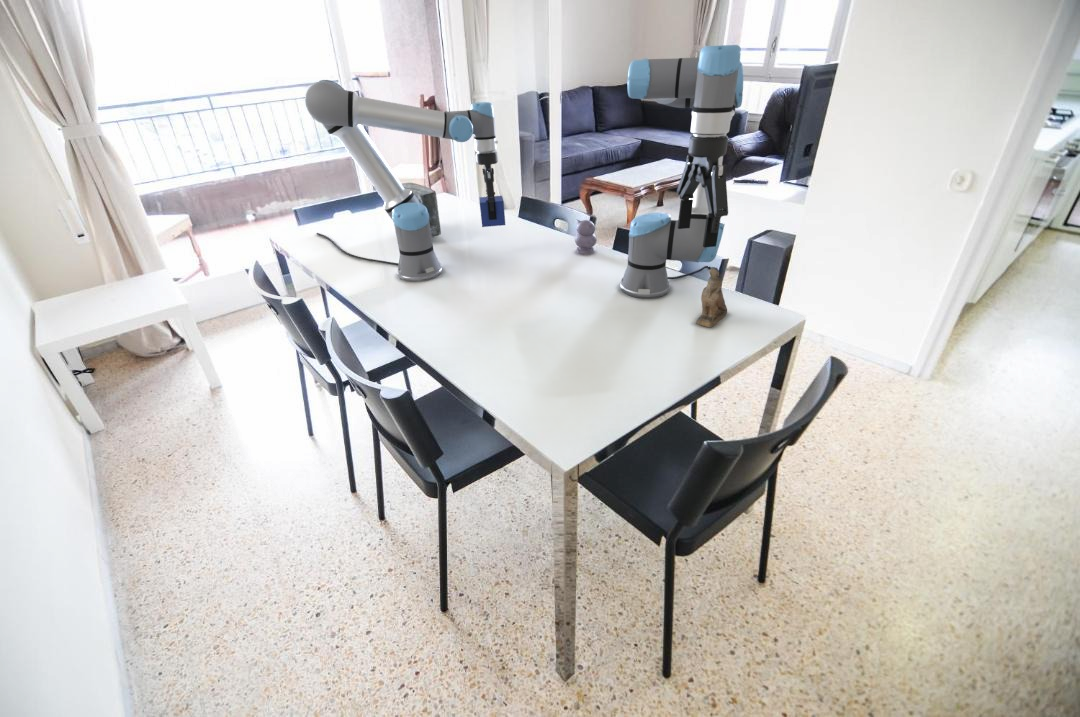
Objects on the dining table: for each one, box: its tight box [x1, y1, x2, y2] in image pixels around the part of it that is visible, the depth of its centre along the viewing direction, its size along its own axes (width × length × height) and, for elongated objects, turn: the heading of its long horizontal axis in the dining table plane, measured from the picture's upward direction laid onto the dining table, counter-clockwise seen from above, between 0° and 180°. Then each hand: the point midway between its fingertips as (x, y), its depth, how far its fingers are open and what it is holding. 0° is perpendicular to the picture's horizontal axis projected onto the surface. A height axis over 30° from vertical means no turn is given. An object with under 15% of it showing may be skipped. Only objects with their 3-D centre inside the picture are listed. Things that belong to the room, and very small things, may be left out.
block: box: [478, 195, 506, 228], centre depth 186 cm, size 9×8×9 cm
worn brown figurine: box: [695, 266, 728, 328], centre depth 135 cm, size 12×6×18 cm, turn 136°
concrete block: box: [401, 182, 442, 239], centre depth 208 cm, size 27×9×20 cm, turn 36°
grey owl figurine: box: [574, 219, 598, 256], centre depth 186 cm, size 8×8×12 cm
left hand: (492, 216), depth 187 cm, fingers closed on block, 8 cm apart
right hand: (695, 237), depth 112 cm, fingers open, 13 cm apart
